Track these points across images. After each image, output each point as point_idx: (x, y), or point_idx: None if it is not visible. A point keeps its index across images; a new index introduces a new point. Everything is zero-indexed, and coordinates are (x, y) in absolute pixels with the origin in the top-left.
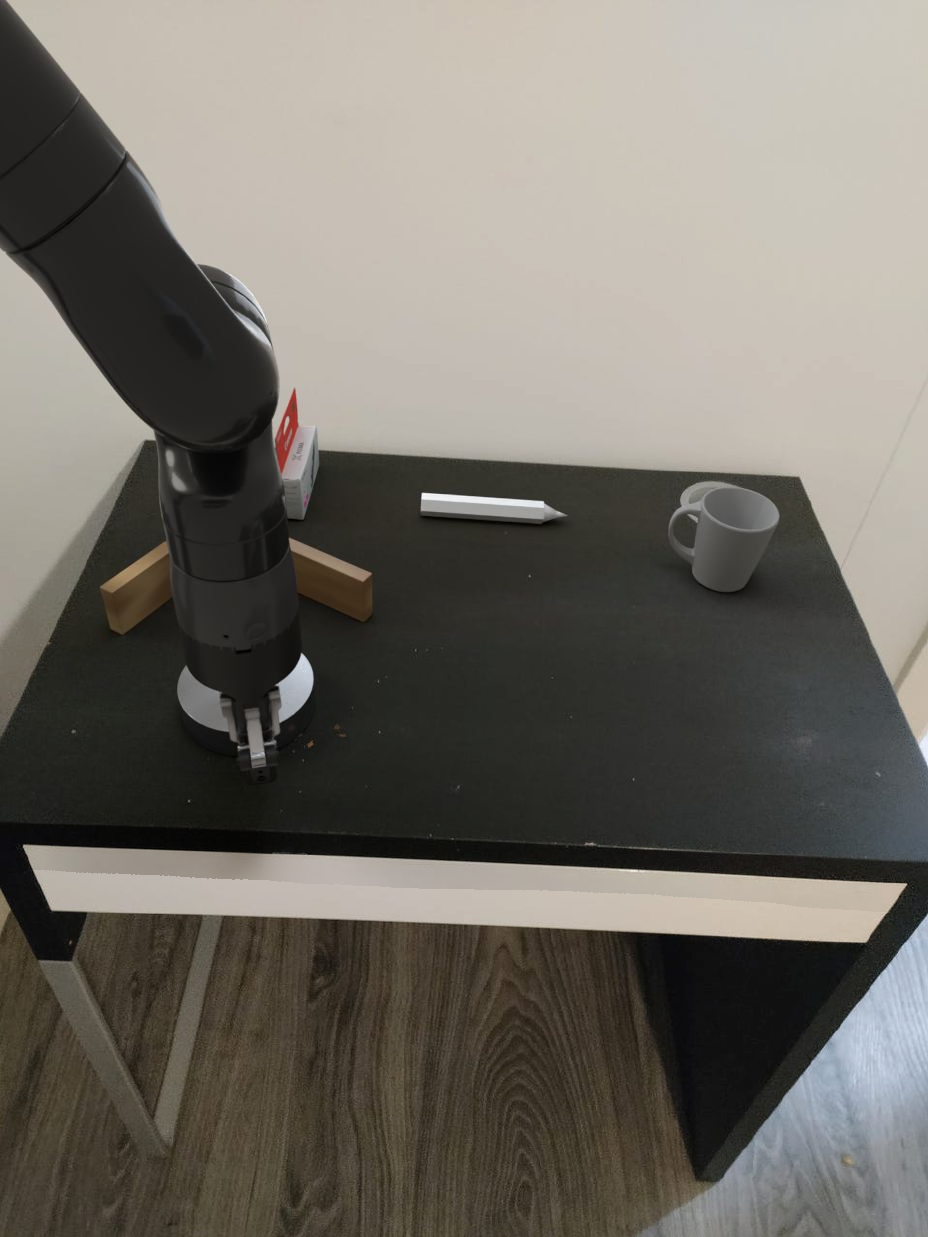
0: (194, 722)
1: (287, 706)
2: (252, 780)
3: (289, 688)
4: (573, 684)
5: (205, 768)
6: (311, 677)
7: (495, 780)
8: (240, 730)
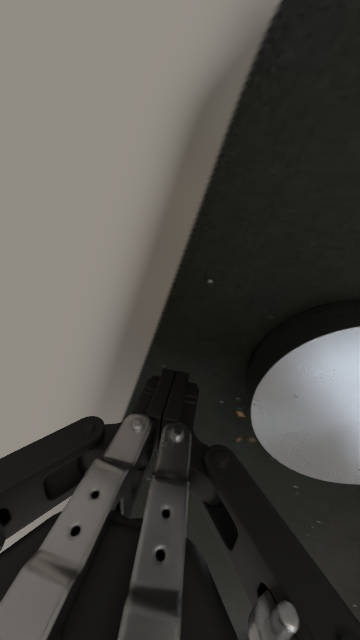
0: (317, 332)
1: (276, 441)
2: (145, 385)
3: (308, 452)
4: (218, 563)
5: (255, 310)
6: (313, 475)
7: (147, 496)
8: (36, 528)
